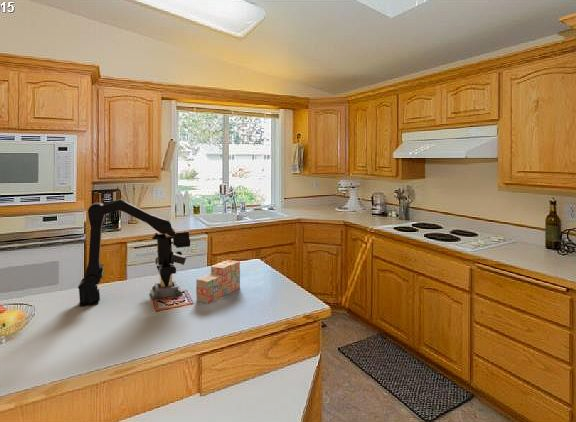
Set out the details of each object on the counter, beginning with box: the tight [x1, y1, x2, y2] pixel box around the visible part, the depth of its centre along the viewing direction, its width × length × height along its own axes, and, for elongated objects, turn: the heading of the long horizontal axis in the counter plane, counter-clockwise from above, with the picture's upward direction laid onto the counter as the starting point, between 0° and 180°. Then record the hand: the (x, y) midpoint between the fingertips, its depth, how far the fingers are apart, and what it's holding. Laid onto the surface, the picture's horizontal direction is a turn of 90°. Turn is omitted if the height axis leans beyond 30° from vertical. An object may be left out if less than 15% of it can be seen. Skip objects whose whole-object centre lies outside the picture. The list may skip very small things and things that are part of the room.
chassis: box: [150, 280, 183, 300], centre depth 155 cm, size 12×10×4 cm
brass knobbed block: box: [158, 273, 173, 288], centre depth 155 cm, size 4×4×7 cm
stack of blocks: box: [195, 259, 241, 304], centre depth 155 cm, size 21×6×12 cm, turn 151°
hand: (165, 284), depth 155 cm, fingers closed on brass knobbed block, 4 cm apart
